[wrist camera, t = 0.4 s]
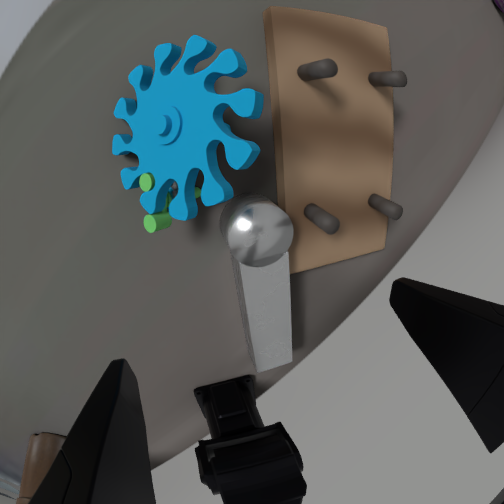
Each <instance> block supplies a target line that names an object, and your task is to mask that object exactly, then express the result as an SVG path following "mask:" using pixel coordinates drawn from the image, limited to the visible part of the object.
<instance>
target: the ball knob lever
mask: <svg viewBox="0 0 504 504" xmlns="http://www.w3.org/2000/svg"><path fill="white" fill-rule="evenodd" d="M220 229H221V233H222V235H223V237H224V239H225V241H226V243H227V245H228V246H229V248H230V253H231V259H232V265H233V271H234V277H235V283H236V288H237V294H238V300H239V305H240V311H241V316H242V322H243V328H244V333H245V338H246V344H247V349H248V353H249V355H250V357H251V360H252V362H253V365H254V367H255V369H256V372H257V373H259V372H262V371H266V370H269V369H272V368H275V367H278V366H281V365H284V364H287V363H290V362H292V328H291V298H290V274H289V254H288V249H289V247H290V245H291V242H292V239H293V225H292V222H291V219H290V218H289V216H288V215H287V214H286V213H285V212H284V211H283V210H282V209H281V208H279V207H278V206H277V205H276V204H274V203H273V202H272V201H271V200H269V199H268V198H267V197H265V196H264V195H261V194H258V193H245V194H241V195H239V196H237V197H235V198H233V199H232V200H231V201H230V202H229V203H228V204H227V205H226V206H225V208H224V209H223V212H222V214H221V217H220Z"/></svg>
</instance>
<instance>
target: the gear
mask: <svg viewBox="0 0 504 504" xmlns="http://www.w3.org/2000/svg"><path fill="white" fill-rule="evenodd" d="M215 50H216V45H215V44H214V43H212V42H210V41H208V40H206V39H204V38H202V37H200V36H197V35H193V36H191V38H190V39H189V40H188V42H187V44H186V49H185V52H184V54H183V56H182V59H181V60H180V62H179V63H178V65H177V66H176V67H175V68H174V69H173V71H172V72H171V73H170V70H171V67H172V66H173V64H174V63H175V62H176V61H177V60H178V59H179V57H180V55H181V47H179V46H176V45H174V44H171V43H165V44H161V45H159V46H157V47H156V49H155V52H154V58H155V73H154V77H153V69H152V68H151V67H149V66H144V65H139V66H137V67H136V68H135V69H134V70H133V71H132V72H131V73H130V74H129V82H130V84H132V85H133V87H134V89H135V91H136V95H137V109H136V102H135V100H134V99H130V98H120V99H119V101H118V103H117V105H116V108H115V110H114V115H115V117H116V118H122V119H124V120H126V121H127V122H128V124H129V125H130V127H131V129H132V131H133V138H132V137H131V136H130V135H129V134H116V135H114V138H113V145H112V153H113V154H114V155H125V154H129V153H130V152H133V153H135V154H136V155H137V156H138V158H139V166H138V167H129V168H124V169H122V171H121V179H122V182H123V185H124V188H125V189H132V188H138V187H141V189H142V190H143V191H145V192H144V193H143V194H142V195H141V198H140V203H141V205H142V206H143V207H144V209H145V210H146V211H147V212H148V213H149V215H146V216H145V218H144V226H145V228H146V230H147V231H148V232H150V233H152V232H155V231H158V230H161V229H164V228H167V227H169V226H170V225H171V223H172V218H171V216H172V217H173V218H175V219H178V220H185V221H186V220H189V219H192V218H195V217H196V216H197V213H198V206H197V203H196V199H195V198H199V197H200V196H201V199H202V202H203V204H204V205H205V206H212V205H215V204H219V203H223V202H225V201H228V200H229V199H231V198H233V189H232V186H231V185H230V184H229V183H228V182H227V181H226V180H225V178H224V177H223V175H222V174H221V172H220V169H219V166H218V162H217V154H216V149H217V146H218V144H219V143H220V142H222V143H223V144H224V146H225V153H226V159H227V162H228V164H229V165H230V166H231V167H232V168H234V169H237V170H240V169H247V168H248V167H250V166H251V165H252V164H253V163H254V161H255V160H256V158H257V157H258V155H259V153H260V148H259V146H258V145H257V144H256V143H254V142H252V141H247V140H243V139H241V138H239V137H237V136H235V135H234V134H233V133H232V132H231V128H230V126H229V125H228V124H227V123H224V121H223V113H224V111H225V109H226V108H227V107H229V106H230V107H231V108H232V109H233V111H234V112H235V113H236V114H237V115H239V116H241V117H245V118H249V119H257V118H260V115H261V113H262V109H263V96H264V95H263V94H261V93H259V92H257V91H255V90H253V89H249V88H245V89H241V90H240V91H238V92H235V93H232V94H227V95H219V94H217V93H216V92H215V91H214V83H215V81H216V80H217V79H218V78H219V77H221V76H229V77H232V78H238V77H241V76H243V75H244V74H245V73H246V72H247V66H246V63H245V60H244V59H243V57H242V55H241V54H240V53H238V52H237V51H235V50H233V49H227V50H224V51H223V52H221V53H220V54H219V56H218V57H217V59H216V60H215V61H214V62H213V63H212V64H211V65H210V66H208V67H207V68H205V69H204V70H202V71H200V72H198V73H195V74H194V68H195V66H196V64H197V63H198V62H200V61H202V60H204V59H207V58H209V57H210V56H212V55H213V54H214V52H215ZM152 77H153V80H152ZM151 80H152V83H151ZM150 83H151V85H150ZM199 170H201V171H202V172H203V174H204V183H203V186H202V190H200V188H198V187H195V182H196V178H197V175H198V172H199Z"/></svg>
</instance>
